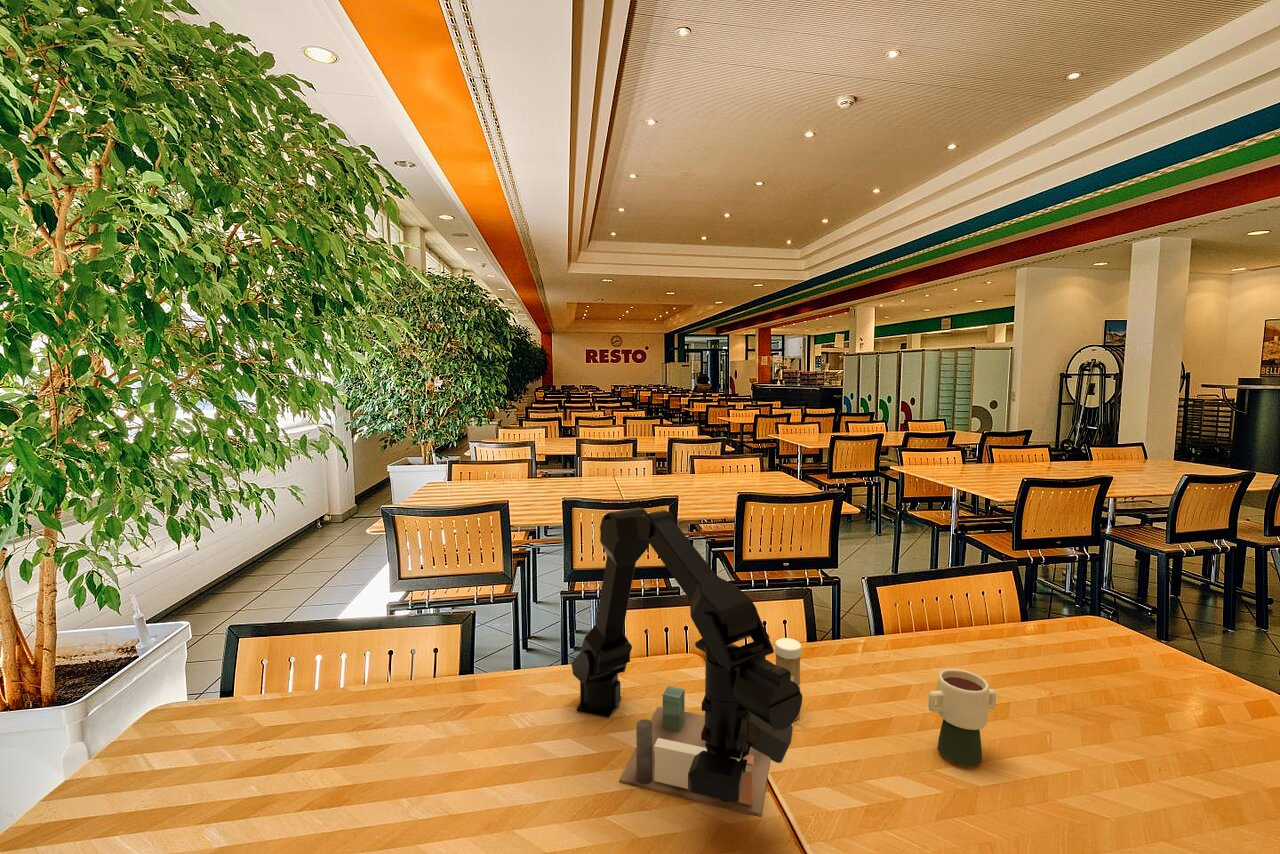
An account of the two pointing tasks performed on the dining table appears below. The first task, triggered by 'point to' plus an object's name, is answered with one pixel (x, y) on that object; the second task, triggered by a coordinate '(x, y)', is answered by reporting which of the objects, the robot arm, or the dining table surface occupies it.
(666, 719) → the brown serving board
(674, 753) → the orange and cream block
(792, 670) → the sprinkles bottle
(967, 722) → the character mug
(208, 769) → the dining table surface
